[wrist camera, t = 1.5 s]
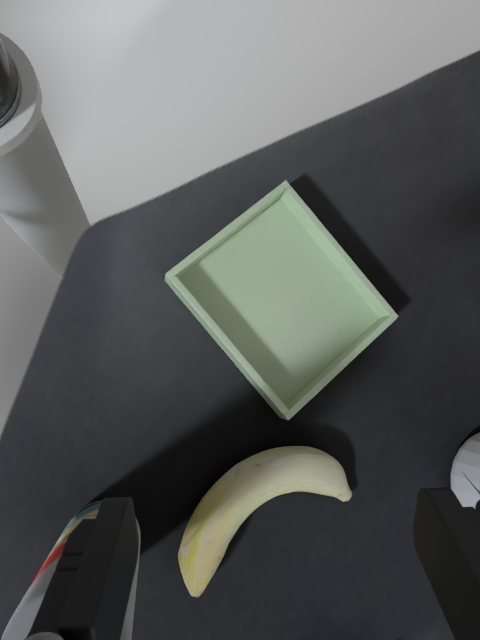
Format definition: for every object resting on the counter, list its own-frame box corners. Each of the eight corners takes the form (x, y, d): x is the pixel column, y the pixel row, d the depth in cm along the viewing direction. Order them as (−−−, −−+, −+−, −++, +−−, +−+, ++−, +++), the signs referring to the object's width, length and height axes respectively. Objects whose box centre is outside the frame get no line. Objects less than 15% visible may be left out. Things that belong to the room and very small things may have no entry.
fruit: (151, 504, 36) (150, 517, 32) (314, 417, 39) (328, 421, 36) (190, 588, 35) (193, 610, 32) (350, 494, 39) (368, 504, 35)
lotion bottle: (92, 484, 35) (11, 621, 15) (155, 521, 35) (154, 697, 16) (48, 553, 34) (-99, 794, 14) (114, 590, 34) (58, 871, 15)
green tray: (164, 280, 38) (164, 273, 36) (278, 191, 41) (286, 179, 38) (280, 418, 38) (288, 420, 36) (384, 320, 41) (399, 316, 39)
